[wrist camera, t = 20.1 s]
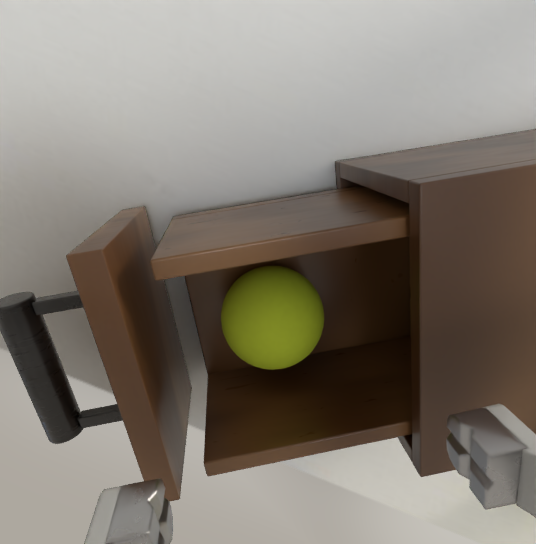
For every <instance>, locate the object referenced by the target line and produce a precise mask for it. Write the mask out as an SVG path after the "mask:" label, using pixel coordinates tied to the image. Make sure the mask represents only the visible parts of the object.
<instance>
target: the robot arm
mask: <svg viewBox="0 0 536 544" xmlns="http://www.w3.org/2000/svg"><path fill="white" fill-rule="evenodd" d="M447 427H448V429H449V430H450V431H451V433H450V435H449V436H448V438H447V451H448V454H449V458H450V460H451V462H452V464H453V466H454V467H455V469H456V470H457V472H458V473H459V474H460V475H462V476H464V477H466V478H468V479H469V480H470V486H469V488H470V489H471V491H472V492H473V493H474V495H475V496H476V497H477V499H478V500H479V501H480V503H481V504H482V506H483V507H484V508H485V510H486V509H491V508H496V507H501V506H506V505H510V504H515V503H517V506H519V507H520V508H522V509H524V510H525V511H527V512H528V513H530V514H531V515H533V516H534V517H536V434H535V433H534V432H533V431H531V430H530V429H529V428H528V427H527V426H526V425H525V424H524V423H523V422H522V421H520V420H519V419H518V418H517V417H516V416H515V415H514V414H513V413H512V412H511V411H509V410H508V409H507V408H506V407H505V406H504V405H501V404H495V405H491V406H487V407H483V408H478V409H474V410H469V411H465V412H461V413H456V414H452V415H449V416H448V418H447ZM164 494H165V486H164V484H163V481H162V479H154V480H149V481H144V482H139V483H133V484H128V485H124V486H120V487H114V488H109V489H104V490H103V491H102V493H101V495H100V496H99V499H98V502H97V505H96V508H95V512H94V515H93V518H92V521H91V524H90V527H89V530H88V533H87V536H86V539H85V543H84V544H170V542H171V541H172V534H173V516H172V510H171V506H170V502H169V500H167V499H166V498H164Z"/></svg>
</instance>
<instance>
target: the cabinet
mask: <svg viewBox="0 0 536 544" xmlns="http://www.w3.org/2000/svg"><path fill="white" fill-rule="evenodd" d="M335 167H336V180H337V189H342V188H348V187H354V186H360V185H362V186H364V187H367V188H370V189H372V190H375V191H377V192H380V193H383V194H385V195H388V196H391V197H393V198H396V199H398V200H401V201H404V202H406V203H409V217H410V297H411V377H412V434H410V435H405V436H400V437H398V439H399V440H400V442H401V444H402V446H403V447H404V449H405V451H406V452H407V454H408V456H409V458H410V459H411V461H412V462H413V465H414V466H415V468H416V470H417V472H418V473H419V475H420V476H421V477H424V476H429V475H433V474H438V473H443V472H447V471H452V470H456V469H455V467H454V466H453V464H452V462H451V460H450V458H449V454H448V451H447V438H448V436H449V435H450V433H451V431H450V430H449V429H448V427H447V418H448V416H449V415H452V414H456V413H461V412H465V411H469V410H474V409H478V408H483V407H487V406H491V405H495V404H501V405H504V406H505V407H506V408H507V409H508V410H509V411H511V412H512V413H513V414H514V415H515V416H516V417H517V418H518V419H519V420H520V421H522V422H523V423H524V424H525V425H526V426H527V427H528V428H529V429H530V430H531V431H533V432H534V433H535V434H536V129H533V130H527V131H520V132H514V133H508V134H502V135H496V136H489V137H483V138H477V139H471V140H465V141H458V142H452V143H446V144H440V145H433V146H427V147H421V148H415V149H409V150H402V151H396V152H390V153H384V154H378V155H371V156H365V157H359V158H353V159H347V160H340V161H336V162H335Z"/></svg>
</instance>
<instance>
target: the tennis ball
mask: <svg viewBox="0 0 536 544" xmlns="http://www.w3.org/2000/svg"><path fill="white" fill-rule="evenodd" d="M221 325H222V330H223V334H224V336H225V339H226V341H227V343H228V345H229V346H230V348H231V349H232V350H233V351H234V353H235V354H236V355H237V356H238V357H240V358H241V359H242V360H243V361H245V362H247V363H248V364H250V365H253V366H255V367H258V368H262V369H271V370H274V369H283V368H287V367H290V366H293V365H295V364H297V363H299V362H300V361H302V360H303V359H304V358H306V357H307V356H308V355H309V354H310V353H311V352H312V351H313V349H314V348H315V346H316V345H317V343H318V341H319V339H320V337H321V334H322V330H323V326H324V310H323V304H322V301H321V299H320V296H319V294H318V292H317V290H316V289H315V288H314V286H313V285H312V283H311V282H310V281H309V280H308V279H306V278H305V277H304V276H303V275H301V274H300V273H298V272H296V271H294V270H292V269H289V268H286V267H282V266H263V267H259V268H255V269H253V270H251V271H249V272H247V273H245V274H244V275H242V276H241V277H240V278H238V279H237V280H236V281H235V282H234V284H233V285H232V286H231V287H230V289H229V291H228V292H227V294H226V296H225V298H224V301H223V305H222V310H221Z"/></svg>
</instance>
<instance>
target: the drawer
mask: <svg viewBox="0 0 536 544" xmlns="http://www.w3.org/2000/svg"><path fill="white" fill-rule="evenodd" d="M66 258H67V261H68V264H69V266H70V269H71V272H72V275H73V278H74V281H75V284H76V287H77V289H78V291H74V292H68V293H62V294H57V295H51V296H45V297H40V298H37V299H36V297H35V295H34V293H32V292H21V293H16V294H12V295H9V296H6V297H4V298H1V299H0V331H1V333H2V335H3V338H4V340H5V342H6V344H7V347H8V349H9V351H10V353H11V356H12V358H13V360H14V362H15V365H16V367H17V369H18V371H19V374H20V376H21V378H22V380H23V382H24V385H25V387H26V389H27V392H28V394H29V396H30V398H31V401H32V403H33V405H34V408H35V410H36V412H37V414H38V416H39V419H40V421H41V423H42V425H43V428H44V430H45V432H46V434H47V437H48V439H49V441H50V442H52V443H55V444H59V443H64V442H67V441H69V440H71V439H73V438H74V437H76V436H77V435H78V434H79V433H80V432H81V431H82V430H83V428H86V427H91V426H97V425H102V424H106V423H112V422H117V421H122V420H123V422H124V424H125V427H126V430H127V433H128V436H129V439H130V442H131V445H132V448H133V451H134V453H135V456H136V459H137V462H138V465H139V468H140V471H141V474H142V476H143V479H144V481H149V480H154V479H162V481H163V484H164V486H165V494H164V498H166V499H167V500H169V501H174V500H179V499H180V491H181V483H182V473H183V464H184V454H185V445H186V435H187V427H188V417H189V408H190V399H191V389H192V387H191V383H190V379H189V375H188V371H187V367H186V364H185V360H184V356H183V352H182V348H181V344H180V340H179V336H178V333H177V329H176V325H175V321H174V317H173V313H172V309H171V305H170V302H169V298H168V294H167V290H166V286H165V282H164V279H170V278H175V277H181V276H185V280H186V284H187V289H188V293H189V297H190V301H191V305H192V310H193V314H194V318H195V322H196V327H197V331H198V335H199V339H200V343H201V348H202V352H203V356H204V360H205V365H206V369H207V373H208V383H207V405H206V427H205V449H204V466H205V470H206V474H207V476H212V475H217V474H222V473H227V472H232V471H236V470H241V469H246V468H251V467H255V466H260V465H265V464H270V463H275V462H280V461H285V460H290V459H294V458H299V457H304V456H309V455H314V454H318V453H323V452H328V451H333V450H338V449H342V448H347V447H352V446H357V445H362V444H367V443H371V442H376V441H381V440H386V439H391V438H395V437H400V436H405V435H410V434H412V377H411V297H410V217H409V203H406V202H404V201H401V200H398V199H396V198H393V197H391V196H388V195H385V194H383V193H380V192H377V191H375V190H372V189H370V188H367V187H364V186H362V185H360V186H354V187H348V188H342V189H336V190H330V191H324V192H318V193H312V194H306V195H300V196H294V197H288V198H282V199H276V200H269V201H263V202H257V203H251V204H245V205H239V206H233V207H227V208H221V209H215V210H209V211H203V212H197V213H191V214H185V215H179V216H174V217H173V218H172V220H171V222H170V224H169V226H168V228H167V230H166V232H165V234H164V235H163V237H162V239H161V241H160V243H159V245H158V247H157V248H156V247H155V243H154V240H153V236H152V232H151V228H150V224H149V220H148V216H147V212H146V209H145V206H143V207H137V208H131V209H124V210H121V211H120V212H119V213H118V214H116V215H115V216H114V217H113V218H112V219H110V220H109V221H108V222H107V223H105V224H104V225H103V226H102V227H100V228H99V229H98V230H97V231H96V232H94V233H93V234H92V235H91V236H89V237H88V238H87V239H86V240H84V241H83V242H82V243H81V244H80V245H78V246H77V247H76V248H75V249H73V250H72V251H71V252H70V253H68V254H67V255H66ZM263 266H282V267H286V268H289V269H292V270H294V271H296V272H298V273H300V274H301V275H303V276H304V277H305V278H306V279H308V280H309V281H310V282H311V283H312V285H313V286H314V288H315V289H316V290H317V292H318V294H319V296H320V299H321V301H322V304H323V310H324V326H323V330H322V334H321V337H320V339H319V341H318V343H317V345H316V346H315V348H314V349H313V351H312V352H311V353H310V354H309V355H308V356H307V357H306V358H304V359H303V360H302V361H300V362H299V363H297V364H295V365H293V366H290V367H287V368H283V369H274V370H271V369H262V368H258V367H255V366H253V365H250V364H248V363H247V362H245V361H243V360H242V359H241V358H240V357H238V356H237V355H236V354H235V353H234V351H233V350H232V349H231V348H230V346H229V345H228V343H227V341H226V339H225V336H224V334H223V330H222V325H221V310H222V305H223V301H224V298H225V296H226V294H227V292H228V291H229V289H230V287H231V286H232V285H233V284H234V282H235V281H236V280H237V279H238V278H240V277H241V276H242V275H244V274H245V273H247V272H249V271H251V270H253V269H255V268H259V267H263ZM81 307H84V310H85V312H86V315H87V318H88V321H89V324H90V327H91V330H92V333H93V335H94V338H95V341H96V344H97V347H98V350H99V353H100V356H101V358H102V361H103V364H104V367H105V370H106V373H107V376H108V379H109V381H110V384H111V387H112V390H113V393H114V396H115V399H116V401H117V404H115V405H110V406H105V407H100V408H95V409H90V410H85V411H82V412H80V409H79V407H78V404H77V402H76V399H75V397H74V394H73V391H72V389H71V386H70V384H69V382H68V379H67V376H66V374H65V371H64V369H63V366H62V363H61V361H60V358H59V356H58V353H57V351H56V348H55V346H54V343H53V341H52V338H51V335H50V333H49V330H48V328H47V325H46V323H45V320H44V318H43V315H42V314H47V313H53V312H59V311H64V310H70V309H76V308H81Z"/></svg>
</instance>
